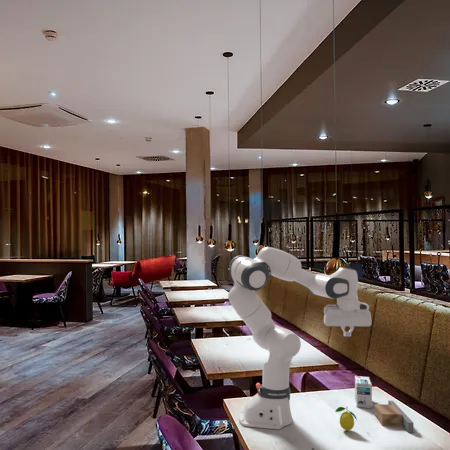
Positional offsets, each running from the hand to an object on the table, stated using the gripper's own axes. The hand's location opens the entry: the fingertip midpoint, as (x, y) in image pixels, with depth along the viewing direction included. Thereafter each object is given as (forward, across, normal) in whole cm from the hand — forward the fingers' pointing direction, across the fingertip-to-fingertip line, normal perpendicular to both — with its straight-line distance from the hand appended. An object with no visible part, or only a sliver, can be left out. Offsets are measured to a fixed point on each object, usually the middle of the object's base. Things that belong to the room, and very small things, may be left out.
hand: (347, 336), depth 194 cm
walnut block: (+33, +15, -8) cm, 37 cm away
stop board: (+33, +20, -8) cm, 39 cm away
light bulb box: (+33, +10, +10) cm, 36 cm away
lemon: (+33, -5, -18) cm, 38 cm away
